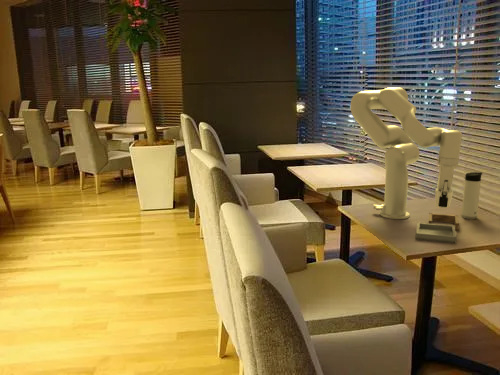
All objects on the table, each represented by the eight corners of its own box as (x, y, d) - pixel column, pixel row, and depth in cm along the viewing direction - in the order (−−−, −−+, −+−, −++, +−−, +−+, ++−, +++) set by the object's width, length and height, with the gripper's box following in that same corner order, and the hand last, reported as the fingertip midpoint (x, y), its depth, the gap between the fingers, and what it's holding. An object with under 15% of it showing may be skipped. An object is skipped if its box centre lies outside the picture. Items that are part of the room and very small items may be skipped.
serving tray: (415, 239, 181) (416, 233, 181) (416, 228, 194) (417, 222, 194) (455, 243, 176) (456, 237, 176) (454, 232, 189) (454, 226, 189)
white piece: (430, 203, 198) (432, 187, 196) (446, 203, 198) (448, 187, 197) (438, 208, 191) (440, 192, 189) (454, 208, 192) (456, 192, 190)
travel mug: (479, 219, 205) (484, 174, 200) (463, 218, 206) (467, 173, 202) (475, 215, 211) (480, 171, 206) (459, 214, 212) (464, 170, 208)
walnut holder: (428, 227, 195) (428, 220, 194) (428, 219, 206) (429, 213, 205) (458, 230, 191) (459, 223, 190) (457, 222, 202) (457, 215, 201)
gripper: (438, 156, 199) (432, 198, 204) (438, 164, 183) (432, 209, 188) (457, 158, 197) (451, 200, 201) (459, 166, 181) (453, 211, 186)
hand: (442, 204), depth 195 cm, fingers closed on white piece, 5 cm apart
